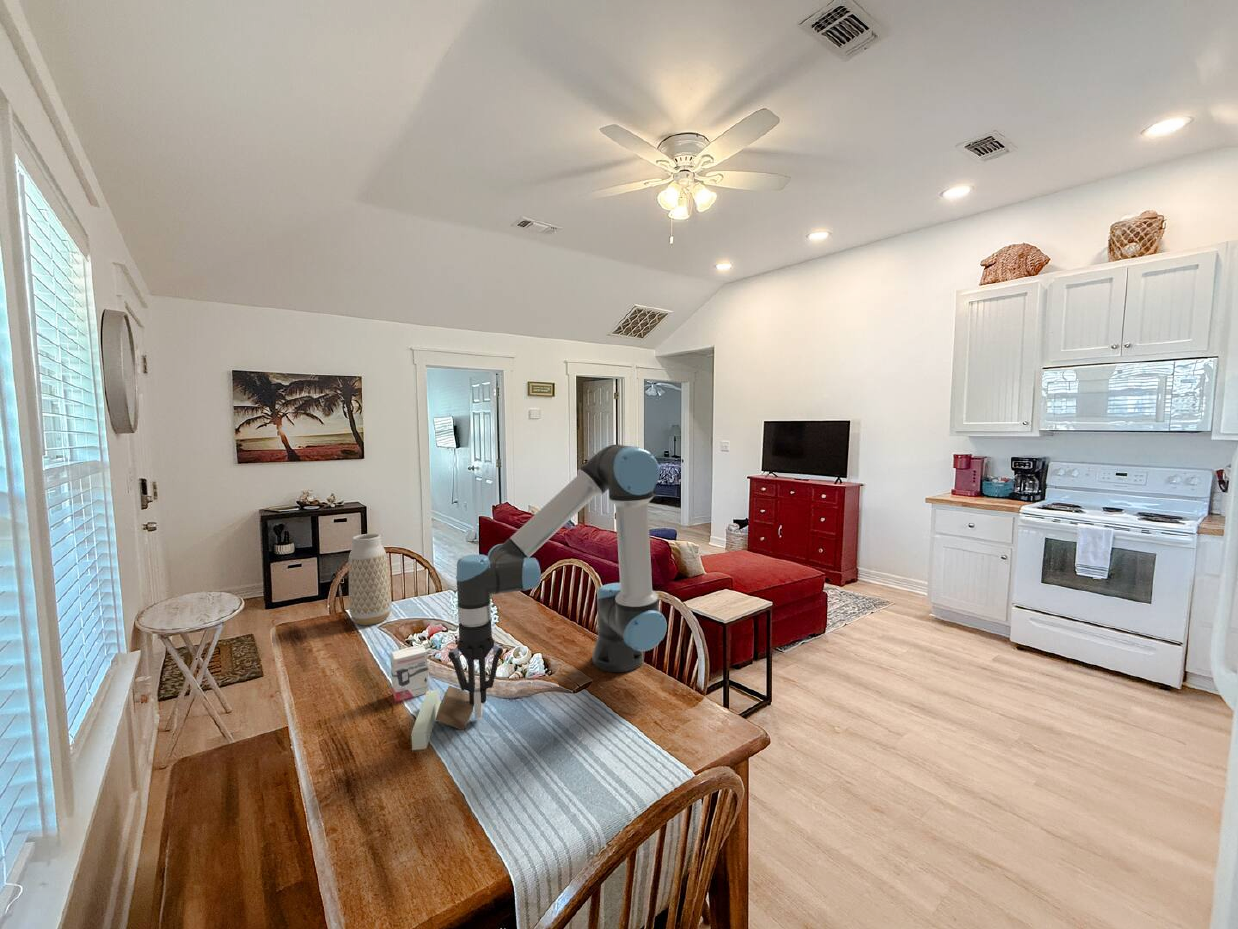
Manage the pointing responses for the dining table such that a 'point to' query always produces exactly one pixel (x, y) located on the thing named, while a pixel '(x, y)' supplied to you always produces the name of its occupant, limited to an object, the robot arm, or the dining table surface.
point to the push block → (455, 708)
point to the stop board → (425, 720)
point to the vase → (368, 580)
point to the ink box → (409, 672)
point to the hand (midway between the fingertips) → (478, 715)
